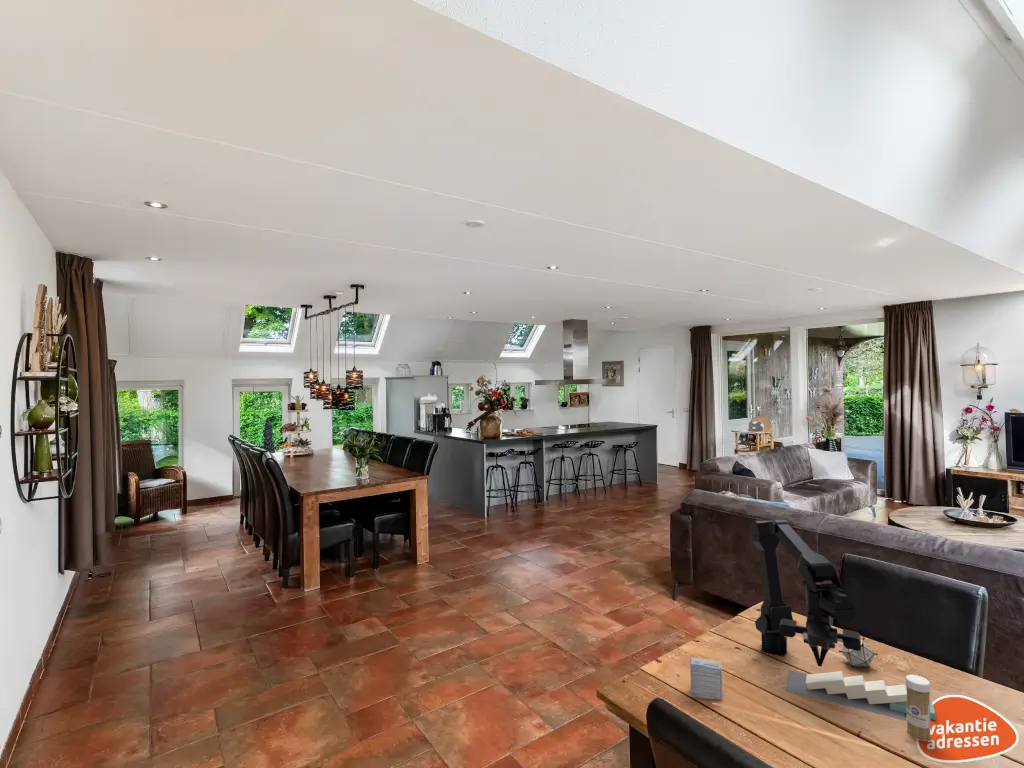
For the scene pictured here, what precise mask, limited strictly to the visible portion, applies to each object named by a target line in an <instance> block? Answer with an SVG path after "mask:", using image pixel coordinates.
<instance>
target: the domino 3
mask: <svg viewBox="0 0 1024 768" xmlns="http://www.w3.org/2000/svg"><path fill="white" fill-rule="evenodd" d="M865 685H866V691H861V692H850V693H846V694H847V697H848V699H859V698H870V697H882V696H888V693H887V687H886V686H887V685H886V683H885V680H884V679H881V680H870V681H865Z"/></svg>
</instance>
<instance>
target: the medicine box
mask: <svg viewBox="0 0 1024 768" xmlns="http://www.w3.org/2000/svg"><path fill="white" fill-rule="evenodd" d="M689 669H690V671H689V672H690V697H692V698H697V699H705V700H711V701H712V700H713V699H716V700H719V701H720V700H722V701H723V698H724V697H723V667H722V661H720V660H715V659H708V658H707V659H706V658H699V657H690V663H689Z"/></svg>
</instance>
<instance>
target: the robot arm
mask: <svg viewBox="0 0 1024 768" xmlns="http://www.w3.org/2000/svg"><path fill="white" fill-rule="evenodd" d="M748 532H749V534H750V538H751V542H752V543H753V544H754V546H755V547H756V548H757V550H758V553H759V554H758V555H759V562H760V570H761V578H762V584H763V593H764V599H763V602H762V604H761V606H760V615H759V617H758V618H757V619H756V620H755V621H754V624H755V629H756V630H757V631H758V632H759V633H761V634H760V635H761V649H760V652H762V653H765V654H769V655H774V656H779V657H785V655H787V653H788V638H791V639H793V638H794V637H795V636H796V634H800V635H802V636H803V640H802V642H803V643H805V644H807V645H808V646H809V647H810V649H811V651H812V653H813V656H814V659H815V662H816V664H817V666H818V667H822V666H823V663H824V660H825V659H826V655H827V653H828V652H829V650H830V649H833V650H834V649H835V648H836V644H838V642H841V643H842V646H843V647H844V646H845V647H846V648H847V649H851V650H856V651H861V639H862V638H861V634H860V633H859V632H858V631H854V630H850V629H849V630H848V629H844V628H843V629H842V633H839V632H838V628H836V627H832V619H834V620H836V621H837V622H839V623H840V624H846V625H847V624H850V623H851V622H853V621H854V619H855V618H856V615H857V609H856V607H855V605H854V603H853V602H851V601H849V596H848V595H847V594H845V593H842V592H843V591H844V587H843V585H842V581H841V579H840V578H839V576H838V574H837V571H836V569H835V567H834V565H833V564H832V563H831V561H830V560H829V559H827V558H826V557H825V556H824V555H822V554H820V553H817V552H815V551H814V550H812V549H811V548H810V546H808V544H807V543H806V542H805V540H803V539H802V538H801V536H800V535H799V534H798V533H796V531H795V530H794V529H793V527H792V526H791V523H790V521H788V520H785V519H773V520H772V519H769V520H768V519H767V520H754V521H751V524H750V525H749V527H748ZM780 543H781V544H782V545H783V546H784V548H785V549H786V550H787V551H788V552H789V553H790V554H791V555H792V557H793V558H794V559H795V561H796V562H797V570H798V572H799V573H800V575H801V576H802V578H803V581H801V585H802V586H803V587H805V596H806V597H805V599H806V601H805V603H806V622H805V626H803V625H798V622H797V620H795V619H794V617H793V614H792V607H791V606H790V605H788V604H787V602H785V600H784V598H783V592H782V584H781V576H780V570H779V561H778V556H777V549H778V546H779V545H780ZM819 647H820V649H819Z"/></svg>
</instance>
